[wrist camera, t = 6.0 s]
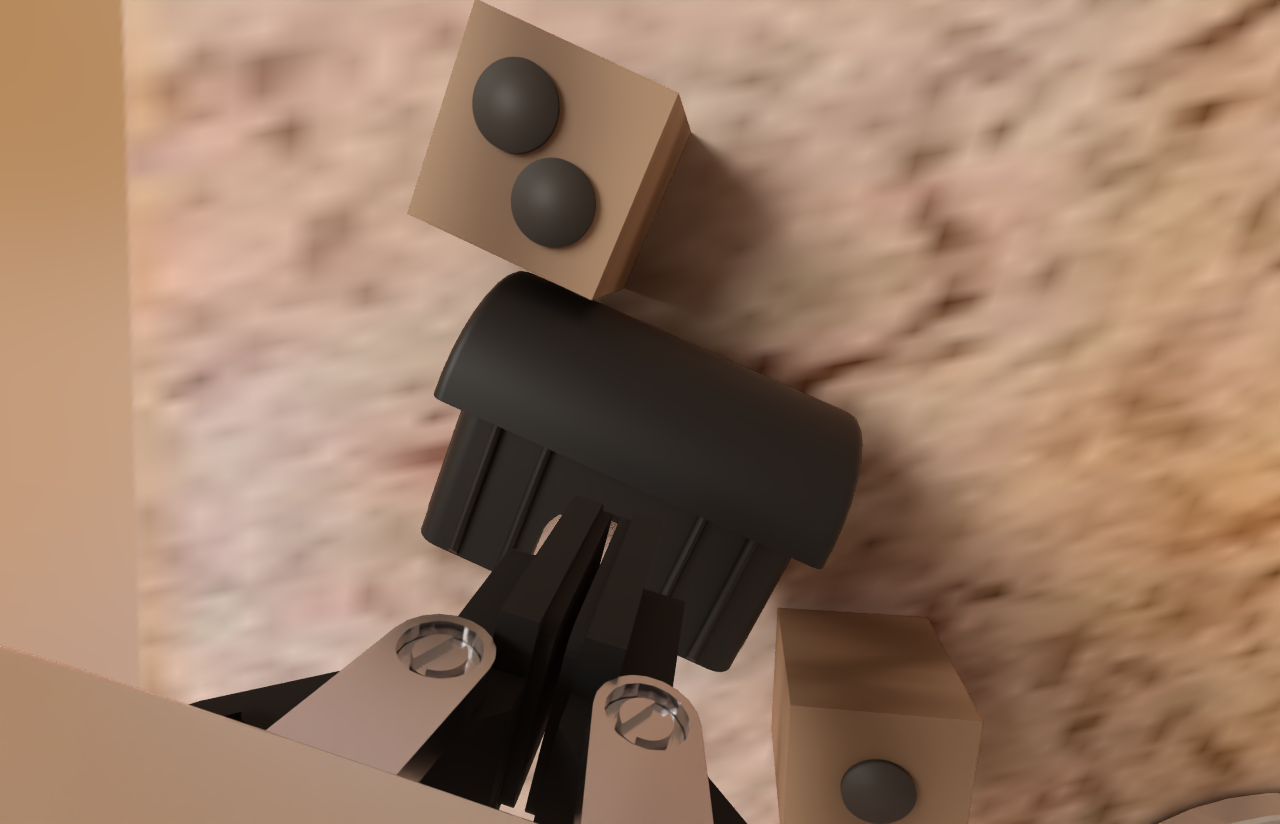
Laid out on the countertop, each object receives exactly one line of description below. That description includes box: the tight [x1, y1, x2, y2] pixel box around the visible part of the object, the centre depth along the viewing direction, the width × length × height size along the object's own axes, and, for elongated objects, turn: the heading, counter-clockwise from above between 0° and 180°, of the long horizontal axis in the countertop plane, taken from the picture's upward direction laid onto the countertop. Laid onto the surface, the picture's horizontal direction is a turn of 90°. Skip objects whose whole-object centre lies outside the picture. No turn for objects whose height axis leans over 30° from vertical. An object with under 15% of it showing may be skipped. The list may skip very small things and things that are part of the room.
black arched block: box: [421, 271, 862, 672], centre depth 18 cm, size 10×7×7 cm
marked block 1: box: [407, 0, 691, 300], centre depth 17 cm, size 5×5×5 cm
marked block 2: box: [772, 608, 983, 824], centre depth 20 cm, size 5×5×5 cm
